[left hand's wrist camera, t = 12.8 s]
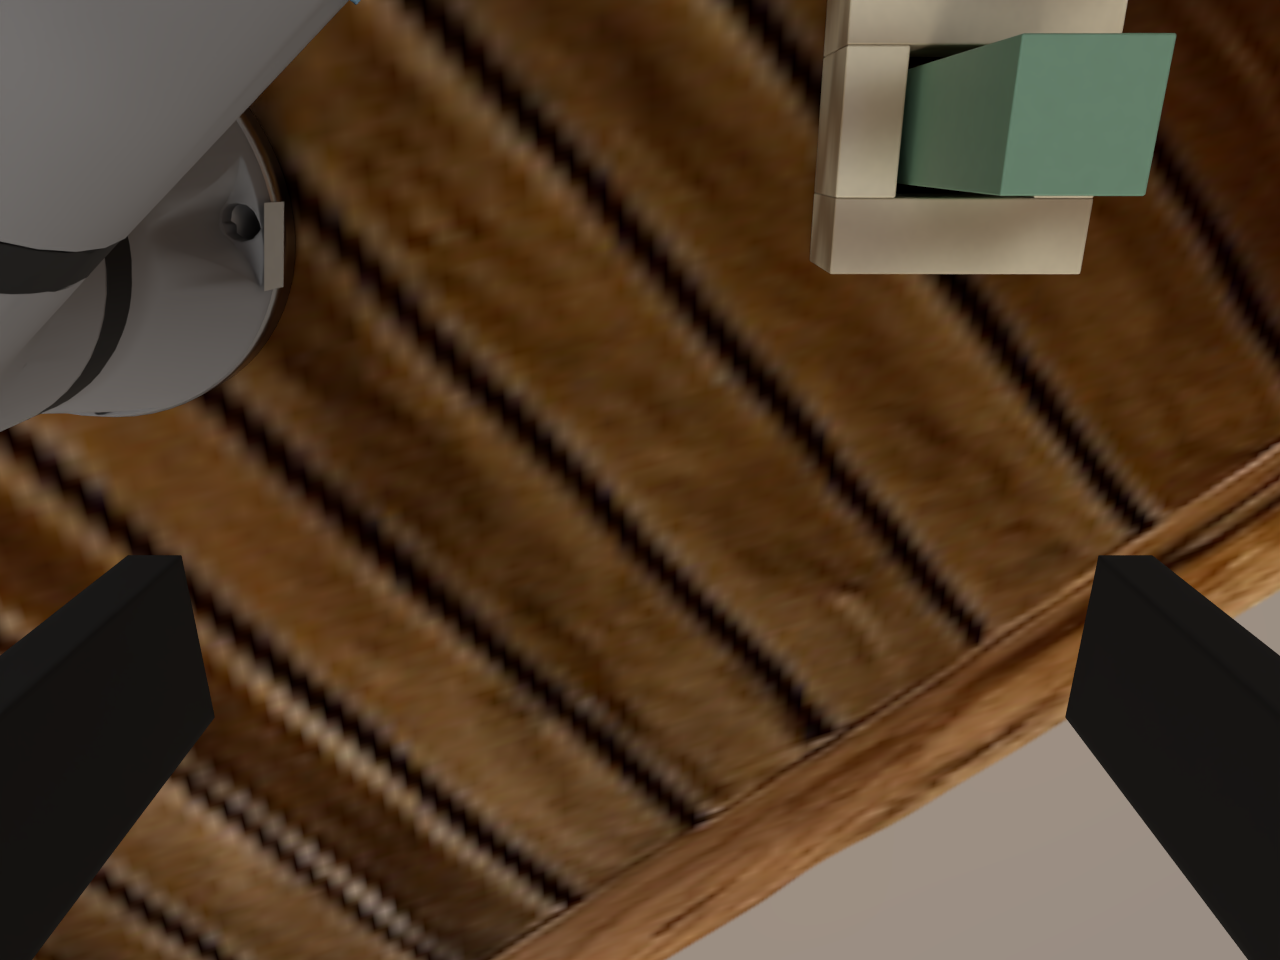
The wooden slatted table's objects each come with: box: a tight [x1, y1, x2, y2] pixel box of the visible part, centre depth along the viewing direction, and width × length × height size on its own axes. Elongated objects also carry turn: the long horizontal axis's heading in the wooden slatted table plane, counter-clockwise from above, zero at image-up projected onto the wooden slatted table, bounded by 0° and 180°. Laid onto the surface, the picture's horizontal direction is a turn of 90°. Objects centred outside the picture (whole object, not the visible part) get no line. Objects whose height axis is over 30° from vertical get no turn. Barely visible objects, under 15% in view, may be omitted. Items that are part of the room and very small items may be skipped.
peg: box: [897, 33, 1176, 196], centre depth 28 cm, size 4×4×12 cm
